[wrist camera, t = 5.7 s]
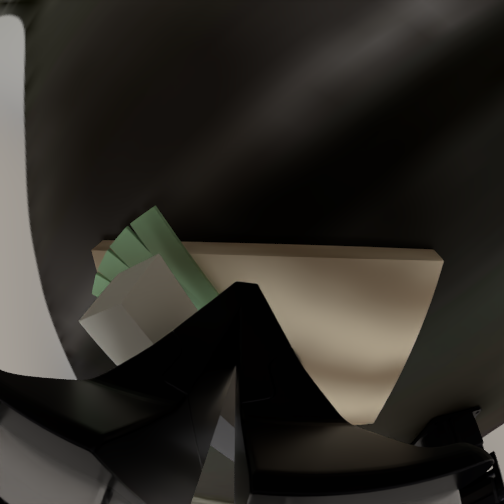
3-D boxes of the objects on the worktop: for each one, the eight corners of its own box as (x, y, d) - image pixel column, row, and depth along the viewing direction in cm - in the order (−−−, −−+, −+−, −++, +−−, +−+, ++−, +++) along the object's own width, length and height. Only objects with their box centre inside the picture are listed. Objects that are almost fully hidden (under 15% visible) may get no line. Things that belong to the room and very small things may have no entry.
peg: (292, 396, 14) (290, 469, 10) (252, 405, 15) (244, 473, 11) (180, 229, 10) (126, 301, 6) (134, 253, 11) (75, 322, 7)
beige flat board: (370, 411, 19) (374, 431, 17) (148, 398, 20) (141, 417, 19) (442, 207, 11) (463, 223, 10) (84, 201, 13) (62, 214, 11)
